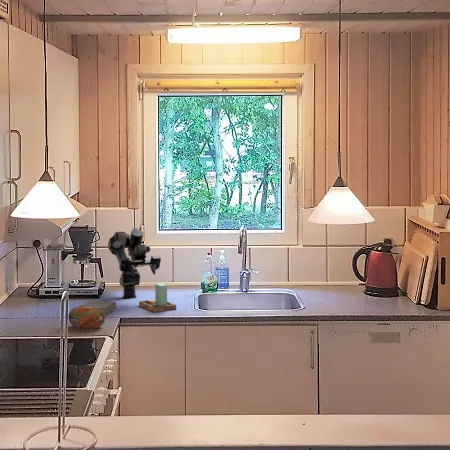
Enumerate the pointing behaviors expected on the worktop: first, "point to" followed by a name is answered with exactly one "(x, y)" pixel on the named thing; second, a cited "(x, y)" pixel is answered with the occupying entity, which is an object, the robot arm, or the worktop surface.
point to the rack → (157, 308)
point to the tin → (87, 317)
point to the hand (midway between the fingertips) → (145, 274)
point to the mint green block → (161, 294)
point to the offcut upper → (151, 302)
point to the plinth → (101, 305)
